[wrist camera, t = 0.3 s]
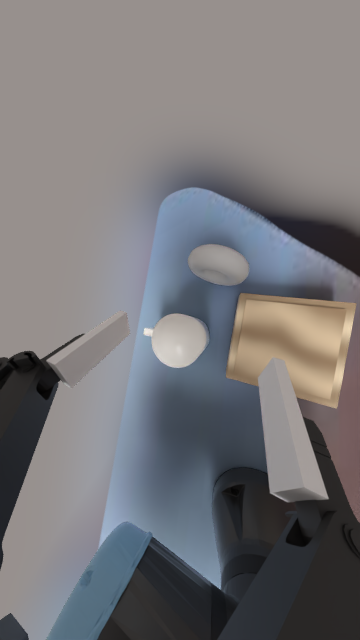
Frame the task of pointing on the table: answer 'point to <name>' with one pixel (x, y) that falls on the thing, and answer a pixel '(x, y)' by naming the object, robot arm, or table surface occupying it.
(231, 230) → the table surface
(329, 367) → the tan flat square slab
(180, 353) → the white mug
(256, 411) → the table surface
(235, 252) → the donut
